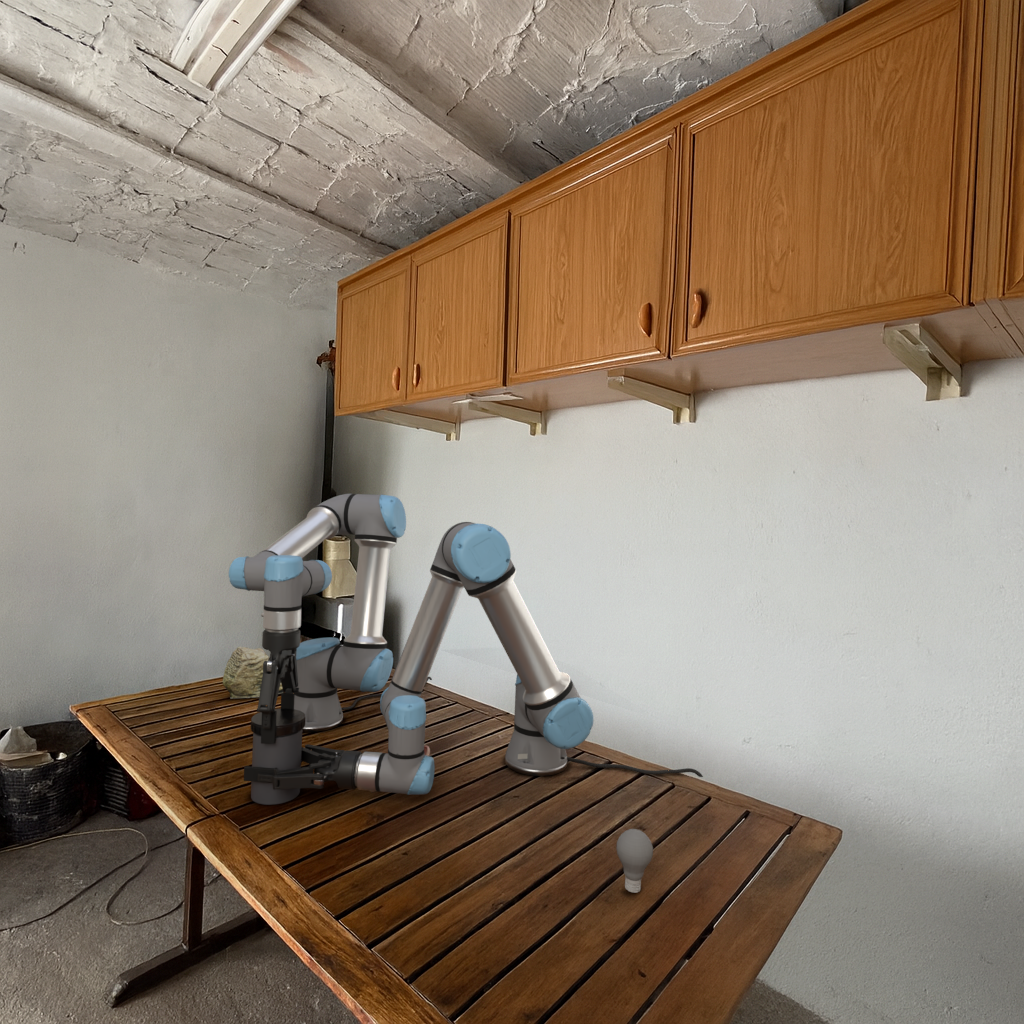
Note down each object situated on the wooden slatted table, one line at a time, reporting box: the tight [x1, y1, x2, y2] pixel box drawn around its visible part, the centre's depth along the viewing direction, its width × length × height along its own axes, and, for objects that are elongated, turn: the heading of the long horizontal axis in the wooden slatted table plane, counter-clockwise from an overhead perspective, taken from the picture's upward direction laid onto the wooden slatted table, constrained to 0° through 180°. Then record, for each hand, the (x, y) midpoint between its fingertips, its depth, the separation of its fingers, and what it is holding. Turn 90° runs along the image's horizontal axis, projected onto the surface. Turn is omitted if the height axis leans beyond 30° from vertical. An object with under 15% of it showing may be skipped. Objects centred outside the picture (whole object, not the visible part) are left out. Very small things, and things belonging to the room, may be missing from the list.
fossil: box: [222, 646, 284, 699], centre depth 198 cm, size 9×18×15 cm, turn 132°
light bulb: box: [615, 828, 654, 894], centre depth 106 cm, size 6×6×10 cm
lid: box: [250, 708, 305, 736], centre depth 134 cm, size 11×11×2 cm
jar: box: [250, 730, 303, 806], centre depth 134 cm, size 10×10×16 cm
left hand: (277, 732), depth 134 cm, fingers closed on lid, 11 cm apart
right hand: (257, 762), depth 134 cm, fingers closed on jar, 10 cm apart
